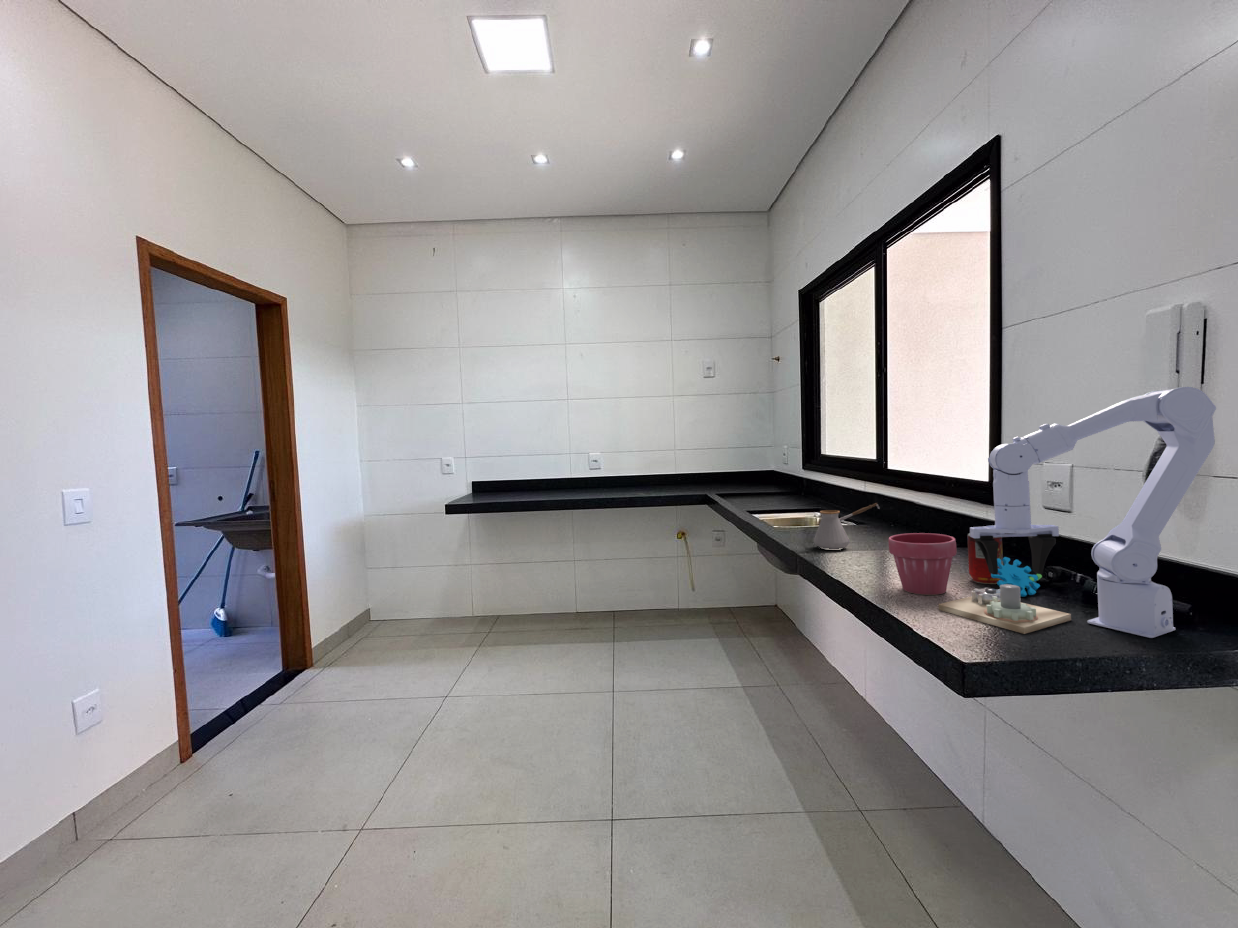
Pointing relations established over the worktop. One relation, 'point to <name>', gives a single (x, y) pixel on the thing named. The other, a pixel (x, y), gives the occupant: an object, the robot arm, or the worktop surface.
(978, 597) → the sun gear
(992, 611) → the gear
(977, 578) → the soda can
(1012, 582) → the blue piece
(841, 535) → the coffee pot
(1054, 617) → the carrier plate
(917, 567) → the plant pot
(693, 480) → the worktop surface
